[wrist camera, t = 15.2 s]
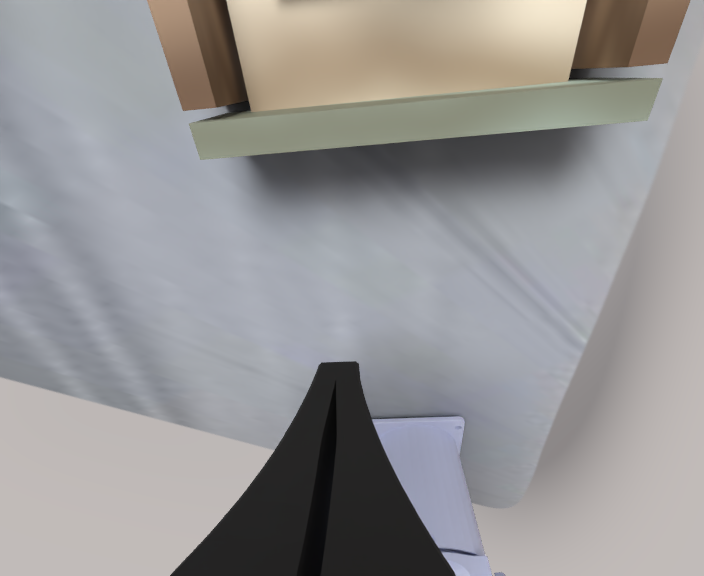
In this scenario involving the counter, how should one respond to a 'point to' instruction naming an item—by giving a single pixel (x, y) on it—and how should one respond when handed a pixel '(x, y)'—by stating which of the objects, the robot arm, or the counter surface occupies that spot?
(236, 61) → the dock
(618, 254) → the counter surface
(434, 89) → the tray
